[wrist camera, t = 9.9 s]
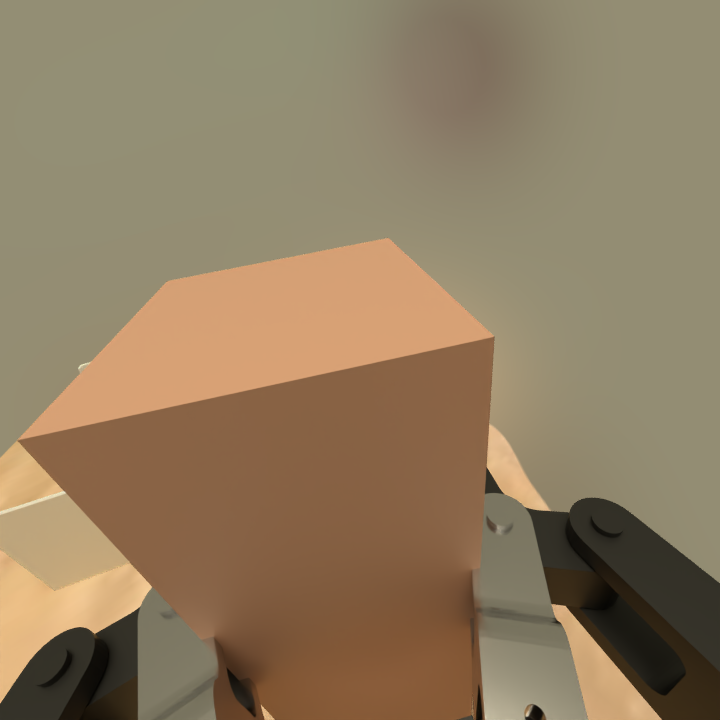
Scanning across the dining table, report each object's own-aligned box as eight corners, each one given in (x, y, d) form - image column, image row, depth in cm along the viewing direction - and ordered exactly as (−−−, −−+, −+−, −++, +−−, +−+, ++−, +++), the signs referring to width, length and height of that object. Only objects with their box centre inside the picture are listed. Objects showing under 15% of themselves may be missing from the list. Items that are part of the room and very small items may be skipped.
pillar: (316, 764, 11) (16, 440, 4) (309, 592, 15) (167, 281, 8) (470, 720, 11) (494, 336, 4) (421, 563, 15) (388, 238, 8)
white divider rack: (176, 547, 35) (119, 476, 29) (55, 591, 33) (-32, 525, 27) (196, 401, 56) (164, 342, 50) (122, 423, 54) (80, 364, 48)
